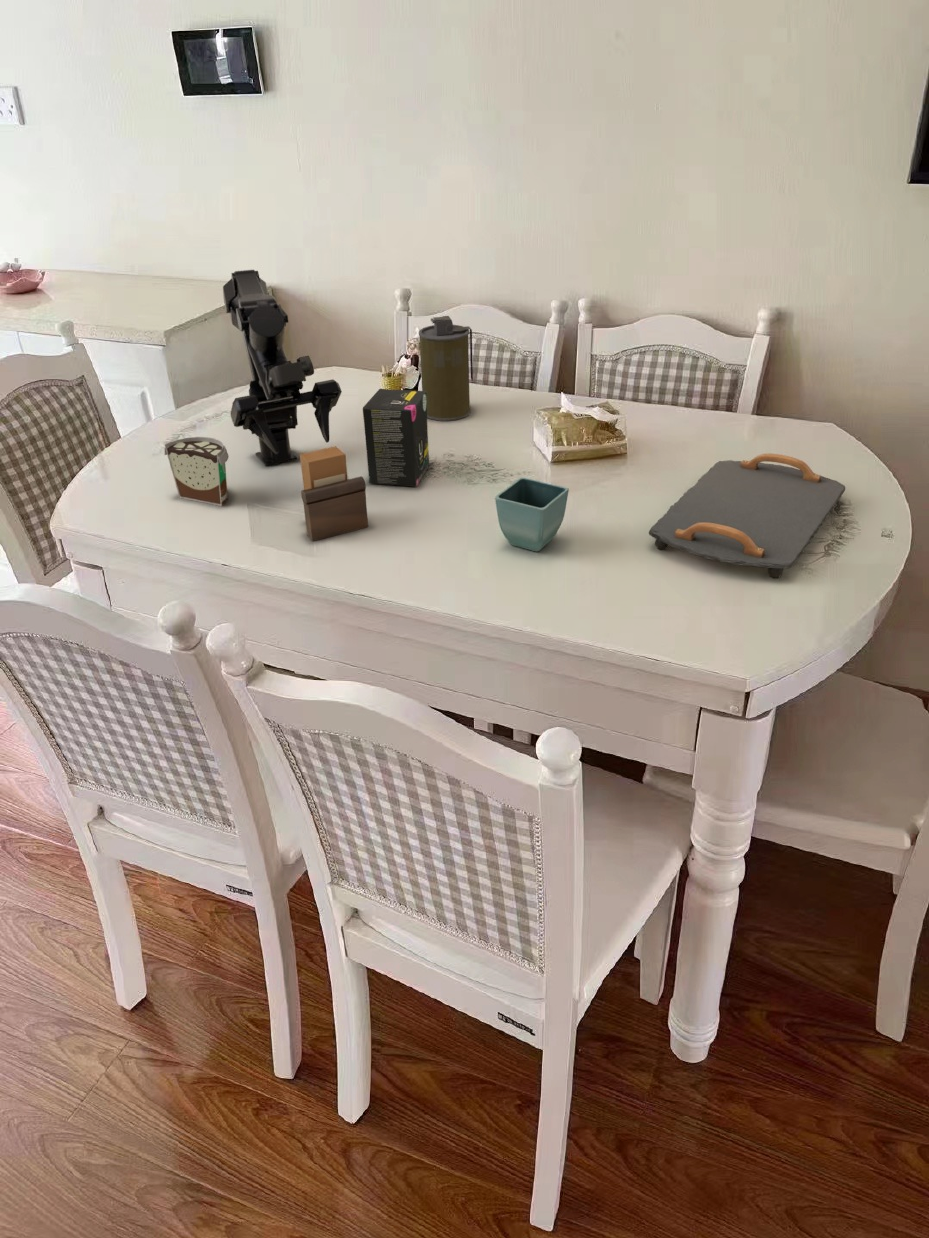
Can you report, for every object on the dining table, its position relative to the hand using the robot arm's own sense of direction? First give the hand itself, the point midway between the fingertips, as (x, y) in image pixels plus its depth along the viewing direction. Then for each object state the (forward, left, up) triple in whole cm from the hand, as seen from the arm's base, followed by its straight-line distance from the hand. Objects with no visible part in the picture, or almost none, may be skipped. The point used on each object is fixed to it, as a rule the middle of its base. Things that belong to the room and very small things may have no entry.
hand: (302, 447), depth 165 cm
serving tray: (+46, +59, -11) cm, 76 cm away
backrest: (+13, 0, -10) cm, 17 cm away
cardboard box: (+9, 0, -10) cm, 14 cm away
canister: (-27, +42, -11) cm, 51 cm away
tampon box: (-3, +19, -11) cm, 22 cm away
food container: (-13, -14, -11) cm, 22 cm away
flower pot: (+33, +25, -11) cm, 43 cm away
